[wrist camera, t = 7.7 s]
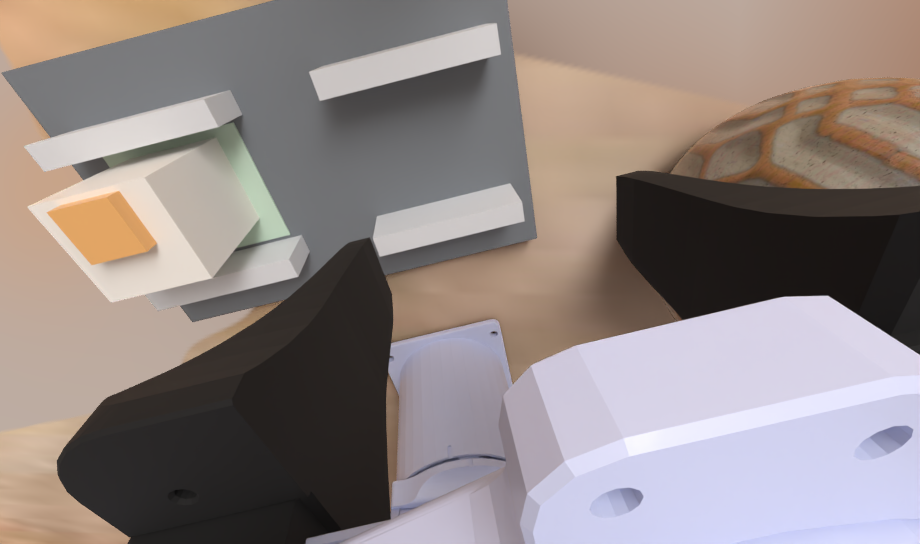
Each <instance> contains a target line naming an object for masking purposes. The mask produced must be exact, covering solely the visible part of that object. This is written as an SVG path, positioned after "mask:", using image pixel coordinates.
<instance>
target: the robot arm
mask: <svg viewBox="0 0 920 544" xmlns="http://www.w3.org/2000/svg"><path fill="white" fill-rule="evenodd" d="M616 186H617V241H618V242H619V244H620V246H621V247H622V249H623V251H624V252H625V254H626V255H627V257H628V258H629V260H630V261H631V263H632V264H633V265H634V266H635V268H636V269H637V270H638V271H639V272H640V273H641V274H642V275H643V277H644V278H645V279H646V280H647V281H648V282H649V283H650V284H651V285H652V286H653V288H654V289H655V290H656V291H657V292H658V293H659V294H660V295H661V296H662V297H663V298H664V300H665V301H666V302H667V303H668V304H669V305H670V306H671V307H672V308H673V309H674V310H675V311H676V313H677V314H678V315H679V316H680V317H681V318H682V321H677V322H673V323H669V324H665V325H660V326H656V327H652V328H648V329H643V330H639V331H635V332H631V333H626V334H622V335H618V336H614V337H609V338H605V339H601V340H597V341H592V342H588V343H584V344H580V345H575V346H572V347H570V348H568V349H565V350H563V351H561V352H558V353H556V354H554V355H552V356H549V357H547V358H545V359H543V360H540V361H538V362H536V363H534V364H532V365H531V366H530V367H529V368H528V369H527V370H526V371H525V372H524V373H523V374H522V376H521V377H520V378H519V379H518V380H517V381H516V382H515V383H514V384H513V385H512V380H511V375H510V371H509V366H508V361H507V357H506V352H505V347H504V343H503V338H502V333H501V329H500V325H499V322H498V321H497V320H495V319H490V320H485V321H481V322H477V323H473V324H469V325H465V326H460V327H456V328H452V329H448V330H444V331H439V332H435V333H431V334H427V335H423V336H419V337H414V338H410V339H406V340H402V341H398V342H393V343H391V339H392V329H393V306H392V293H391V291H390V288H389V285H388V283H387V280H386V278H385V275H384V273H383V270H382V267H381V265H380V262H379V260H378V257H377V254H376V252H375V249H374V247H373V244H372V242H371V239H370V237H369V238H365V239H361V240H357V241H352V242H349V243H348V244H346V245H345V246H344V247H342V248H341V249H340V250H339V251H338V252H337V253H336V254H335V255H334V256H333V257H332V258H331V259H330V260H329V261H328V262H327V263H326V264H325V265H324V266H323V267H321V268H320V269H319V270H318V271H317V272H316V273H315V274H314V275H313V276H312V277H311V278H310V279H309V280H308V281H307V282H305V283H304V284H303V285H302V286H301V287H300V288H299V289H298V290H296V291H295V292H294V293H293V294H292V295H291V296H290V297H288V298H287V299H286V300H285V301H284V302H282V303H281V304H280V305H278V306H277V307H276V308H274V309H273V310H272V311H270V312H269V313H268V314H266V315H265V316H263V317H262V318H261V319H259V320H258V321H256V322H255V323H253V324H252V325H250V326H248V327H247V328H245V329H244V330H242V331H240V332H239V333H237V334H236V335H234V336H232V337H231V338H229V339H228V340H226V341H224V342H223V343H221V344H219V345H217V346H216V347H214V348H212V349H210V350H208V351H207V352H205V353H203V354H201V355H199V356H197V357H195V358H193V359H191V360H189V361H187V362H185V363H183V364H181V365H180V366H177V367H175V368H173V369H171V370H169V371H167V372H165V373H163V374H161V375H158V376H156V377H154V378H151V379H149V380H147V381H144V382H142V383H140V384H138V385H135V386H133V387H131V388H129V389H127V390H124V391H122V392H119V393H117V394H114V395H112V396H110V397H108V398H106V399H105V400H104V401H103V402H102V403H101V404H100V405H99V406H98V407H97V409H96V410H95V411H94V412H93V413H92V415H91V416H90V417H89V418H88V419H87V421H86V422H85V423H84V424H83V426H82V427H81V428H80V429H79V430H78V432H77V433H76V434H75V435H74V436H73V438H72V439H71V440H70V441H69V442H68V444H67V445H66V446H65V447H64V449H63V451H62V452H61V454H60V456H59V458H58V460H57V471H58V476H59V479H60V480H61V482H62V484H63V486H64V487H65V489H66V491H67V492H68V493H69V494H70V495H71V496H73V497H74V498H75V499H76V500H77V501H78V502H79V503H81V504H82V505H84V506H85V507H86V508H88V509H89V510H91V511H92V512H94V513H95V514H97V515H98V516H99V517H101V518H102V519H104V520H105V521H107V522H108V523H110V524H111V525H112V526H114V527H115V528H117V529H118V530H120V531H121V532H123V533H124V534H125V535H127V536H128V537H131V538H130V540H129V542H128V544H920V186H908V187H893V188H868V189H801V188H782V187H765V186H754V185H745V184H737V183H728V182H721V181H713V180H707V179H700V178H694V177H688V176H681V175H675V174H669V173H661V172H653V171H636V172H632V173H628V174H624V175H620V176H616ZM493 331H496V332H495V333H491V332H493ZM390 356H393V357H392V358H390ZM388 373H389V375H390V377H391V379H392V381H393V384H394V386H395V388H396V390H397V392H398V395H399V424H398V454H397V481H394V482H393V483H392V500H391V512H390V500H389V482H388V464H387V434H386V388H387V377H388Z"/></svg>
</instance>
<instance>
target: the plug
mask: <svg viewBox="0 0 920 544" xmlns="http://www.w3.org/2000/svg"><path fill="white" fill-rule="evenodd" d="M28 209H29V210H30V211H31V212H32V213H33V214H34V216H35V217H36V218H37V219H38V220H39V221H40V222H41V223H42V225H44V227H45V228H46V229H47V230H48V231H49V232H50V234H51V235H52V236H53V237H54V238H55V239H56V240H57V242H58V243H59V244H60V245H61V246H62V247H63V249H64V250H65V251H66V252H67V253H68V254H69V255H70V256H71V257H72V259H73V260H74V261H75V262H76V263H77V264H78V266H79V267H80V268H81V269H82V270H83V271H84V272H85V274H87V276H88V277H89V278H90V279H91V280H92V282H93V283H94V284H95V285H96V286H97V287H98V288H99V290H100V291H101V292H102V293H103V294H104V295H105V296H106V297H107V299H108V300H109V301H110V302H111V303H112V302H116V301H120V300H124V299H128V298H132V297H137V296H140V295H145V294H149V293H153V292H157V291H161V290H165V289H170V288H174V287H178V286H182V285H186V284H190V283H194V282H198V281H203V280H207V279H211V278H213V276H214V275H215V274H216V273H217V271H218V270H219V269H220V268H221V266H222V265H223V264H224V263H225V261H226V260H227V259H228V258H229V256H230V255H231V254H232V253H233V251H234V250H235V249H236V247H237V246H238V245H239V244H240V242H241V241H242V240H243V239H244V237H245V236H246V235H247V234H248V232H249V231H250V230H251V229H252V227H253V226H254V225H255V223H256V222H257V221H258V220H259V216H258V214H257V212H256V210H255V209H254V207H253V205H252V203H251V201H250V199H249V197H248V196H247V194H246V192H245V190H244V188H243V186H242V184H241V183H240V181H239V179H238V177H237V175H236V173H235V172H234V170H233V168H232V166H231V164H230V162H229V160H228V159H227V157H226V155H225V153H224V151H223V149H222V147H221V146H220V144H219V142H218V140H217V138H216V137H214V138H210V139H206V140H202V141H198V142H194V143H190V144H186V145H182V146H178V147H174V148H171V149H167V150H163V151H159V152H155V153H151V154H147V155H143V156H139V157H135V158H131V159H128V160H126V161H124V162H122V163H119V164H117V165H115V166H113V167H111V168H109V169H107V170H105V171H102V172H100V173H98V174H96V175H94V176H92V177H90V178H87V179H85V180H83V181H81V182H79V183H77V184H75V185H73V186H70V187H68V188H66V189H64V190H62V191H60V192H58V193H55V194H53V195H51V196H49V197H47V198H45V199H43V200H41V201H38V202H36V203H34V204H32V205H30V206H28Z"/></svg>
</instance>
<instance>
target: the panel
mask: <svg viewBox="0 0 920 544" xmlns="http://www.w3.org/2000/svg"><path fill="white" fill-rule="evenodd" d="M2 75H3V76H4V77H5V79H6V80H7V81H8V82H9V84H10V85H11V86H12V88H13V89H14V90H15V92H16V93H17V94H18V96H19V97H20V98H21V99H22V101H23V102H24V103H25V105H26V106H27V107H28V109H29V110H30V111H31V112H32V114H33V115H34V116H35V118H36V119H37V120H38V122H39V123H40V124H41V125H42V127H43V128H44V129H45V131H46V132H47V133H48V135H49V136H50V137H51V138H48V139H45V140H42V141H39V142H36V143H32V144H29V145H26V146H24V147H25V149H26V150H27V151H28V152H29V153H30V155H31V156H32V157H33V158H34V160H35V161H36V162H37V163H38V165H39V166H40V167H41V168H42V169H43V171H44V172H46V171H50V170H54V169H57V168H61V167H65V166H69V165H72V166H73V167H74V168H75V170H76V171H77V172H78V174H79V175H80V176H81V178H82V179H83V180H85V179H87V178H90V177H92V176H94V175H96V174H98V173H100V172H102V171H105V170H107V169H109V168H111V167H113V166H115V165H117V164H119V163H122V162H124V161H126V160H128V159H131V158H135V157H139V156H143V155H147V154H151V153H155V152H159V151H163V150H167V149H171V148H174V147H178V146H182V145H186V144H190V143H194V142H198V141H202V140H206V139H210V138H214V137H216V138H217V140H218V142H219V144H220V146H221V147H222V149H223V151H224V153H225V155H226V157H227V159H228V160H229V162H230V164H231V166H232V168H233V170H234V172H235V173H236V175H237V177H238V179H239V181H240V183H241V184H242V186H243V188H244V190H245V192H246V194H247V196H248V197H249V199H250V201H251V203H252V205H253V207H254V209H255V210H256V212H257V214H258V216H259V220H258V221H257V222H256V223H255V225H254V226H253V227H252V229H251V230H250V231H249V232H248V234H247V235H246V236H245V237H244V239H243V240H242V241H241V242H240V244H239V245H238V246H237V247H236V249H235V250H234V251H233V253H232V254H231V255H230V256H229V258H228V259H227V260H226V261H225V263H224V264H223V265H222V266H221V268H220V269H219V270H218V271H217V273H216V274H215V275H214V276H213V278H211V279H207V280H203V281H198V282H194V283H190V284H186V285H182V286H178V287H174V288H170V289H165V290H161V291H157V292H153V293H149V294H145V296H146V297H147V298H148V300H149V301H150V302H151V303H152V305H153V306H154V307H155V308H156V309H157V311H161V310H165V309H169V308H173V307H177V306H180V307H181V308H182V309H183V310H184V312H185V313H186V314H187V316H188V317H189V318H190V320H191V321H192V322H195V321H199V320H203V319H207V318H212V317H216V316H220V315H224V314H228V313H232V312H236V311H240V310H245V309H249V308H253V307H257V306H261V305H265V304H269V303H273V302H277V301H282V300H286V299H287V298H288V297H290V296H291V295H292V294H293V293H294V292H295V291H296V290H298V289H299V288H300V287H301V286H302V285H303V284H304V283H305V282H307V281H308V280H309V279H310V278H311V277H312V276H313V275H314V274H315V273H316V272H317V271H318V270H319V269H320V268H321V267H323V266H324V265H325V264H326V263H327V262H328V261H329V260H330V259H331V258H332V257H333V256H334V255H335V254H336V253H337V252H338V251H339V250H340V249H341V248H342V247H344V246H345V245H346V244H348V243H349V242H352V241H357V240H361V239H365V238H369V237H370V239H371V242H372V244H373V247H374V249H375V252H376V254H377V257H378V260H379V262H380V265H381V267H382V270H383V273H384V275H388V274H392V273H396V272H401V271H405V270H409V269H413V268H417V267H421V266H425V265H429V264H433V263H437V262H442V261H446V260H450V259H454V258H458V257H462V256H466V255H470V254H474V253H478V252H483V251H487V250H491V249H495V248H499V247H503V246H507V245H511V244H515V243H519V242H524V241H528V240H532V239H536V238H537V233H536V225H535V218H534V210H533V202H532V194H531V186H530V178H529V170H528V162H527V154H526V146H525V138H524V130H523V122H522V114H521V106H520V99H519V91H518V83H517V75H516V67H515V59H514V51H513V43H512V36H511V27H510V20H509V11H508V4H507V0H274V1H270V2H266V3H262V4H258V5H255V6H251V7H247V8H243V9H240V10H236V11H232V12H228V13H225V14H221V15H217V16H213V17H209V18H206V19H202V20H198V21H194V22H191V23H187V24H183V25H179V26H176V27H172V28H168V29H164V30H160V31H157V32H153V33H149V34H145V35H142V36H138V37H134V38H130V39H127V40H123V41H119V42H115V43H111V44H108V45H104V46H100V47H96V48H93V49H89V50H85V51H81V52H78V53H74V54H70V55H66V56H62V57H59V58H55V59H51V60H47V61H44V62H40V63H36V64H32V65H29V66H25V67H21V68H17V69H13V70H10V71H6V72H2Z"/></svg>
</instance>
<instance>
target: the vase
mask: <svg viewBox="0 0 920 544" xmlns="http://www.w3.org/2000/svg"><path fill="white" fill-rule="evenodd" d="M670 174H675V175H681V176H688V177H694V178H700V179H707V180H713V181H721V182H728V183H737V184H745V185H754V186H765V187H782V188H801V189H868V188H893V187H908V186H920V79H918V78H897V77H882V78H858V79H847V80H840V81H834V82H830V83H824V84H819V85H814V86H809V87H805V88H801V89H798V90H794V91H791V92H788V93H785V94H782V95H778V96H775V97H772V98H770V99H767V100H764V101H762V102H760V103H757V104H755V105H753V106H751V107H749V108H747V109H745V110H743V111H741V112H739V113H737V114H736V115H734V116H732V117H731V118H729V119H727V120H726V121H724V122H722V123H721V124H719V125H718V126H716V127H715V128H714V129H712V130H711V131H709V132H708V133H707V134H706V135H704V136H703V137H702V138H701V139H700V140H699V141H697V142H696V143H695V144H694V145H693V146H692V147H691V148H690V149H689V150H688V151H687V152H686V153H685V154H684V156H683V157H682V158H681V159H680V160H679V162H678V163H677V164H676V165H675V167H674V168H673V169H672V171H671V172H670ZM661 297H662V296H661ZM662 299H663V301H664V303H665V304H666V306H667V308H668V309H669V311H670V312H671V314H672V316H673V317H674V319H675V320H676V321H682V318H681V317H680V316H679V315H678V314H677V313H676V311H675V310H674V309H673V308H672V307H671V306H670V305H669V304H668V303H667V302H666V301H665V300H664V298H663V297H662Z"/></svg>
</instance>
